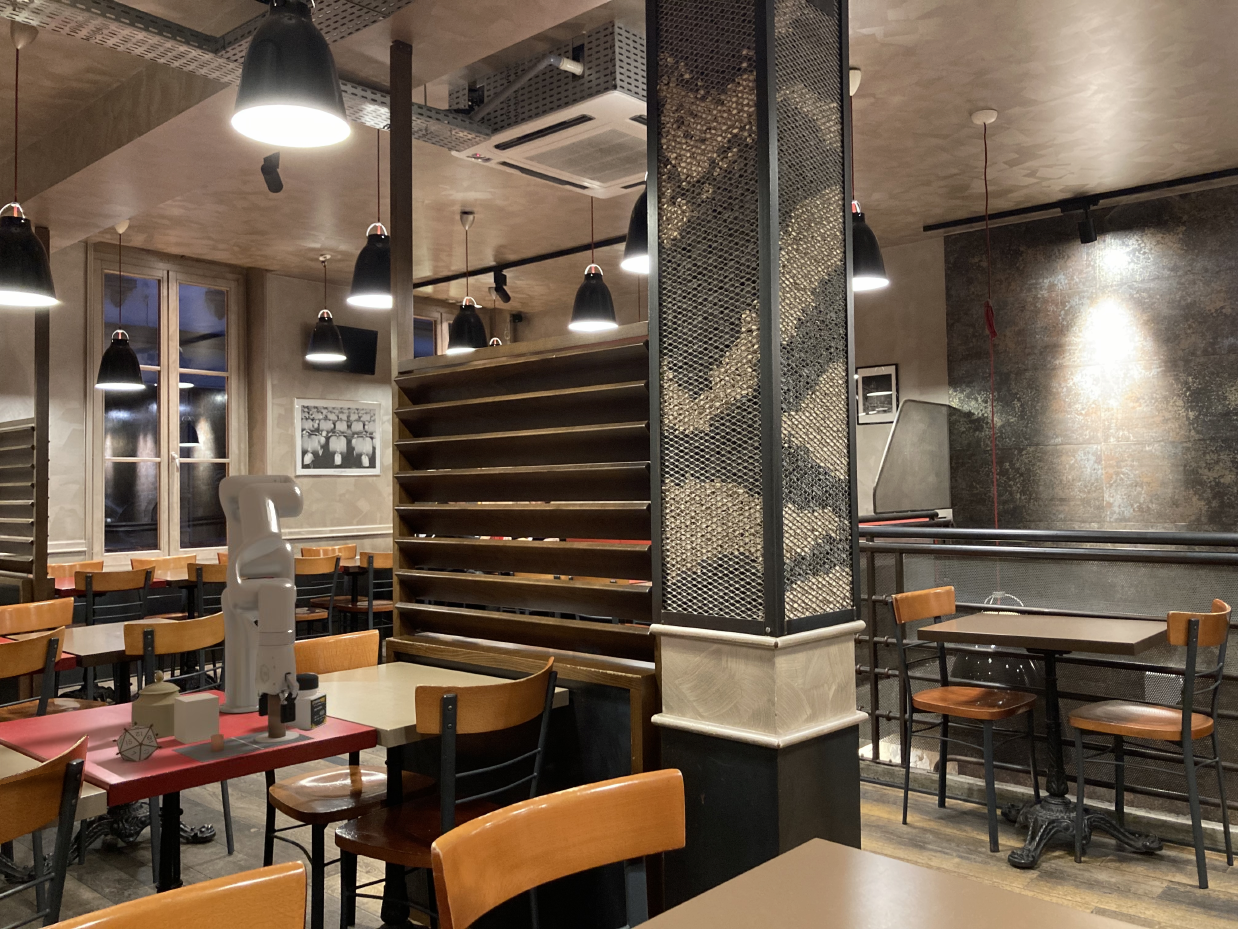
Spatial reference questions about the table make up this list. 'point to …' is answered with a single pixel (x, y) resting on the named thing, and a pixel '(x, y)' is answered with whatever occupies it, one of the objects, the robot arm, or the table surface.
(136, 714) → the sugar bowl
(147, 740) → the game die
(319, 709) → the medicine bottle
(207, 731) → the block
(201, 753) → the board
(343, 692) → the table surface
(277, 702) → the walnut pin
